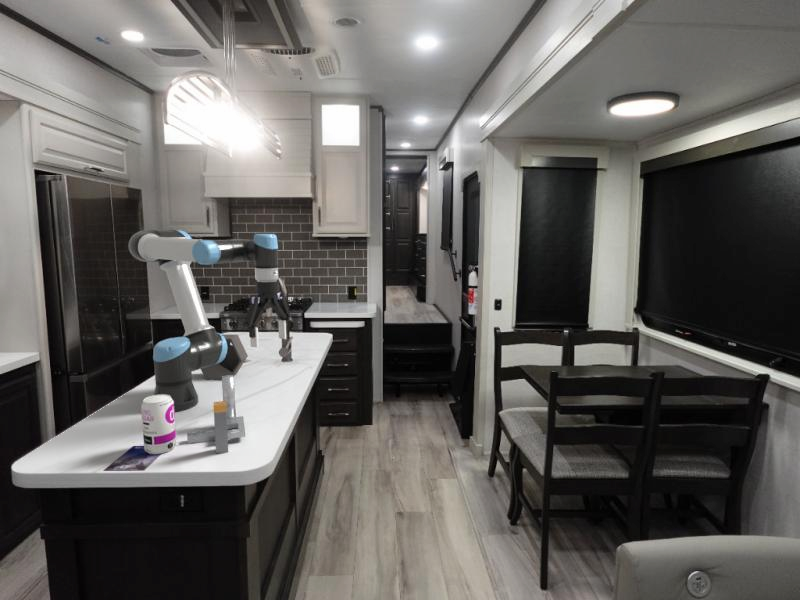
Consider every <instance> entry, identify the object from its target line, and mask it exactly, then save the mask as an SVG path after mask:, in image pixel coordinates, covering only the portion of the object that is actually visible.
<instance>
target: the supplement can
mask: <svg viewBox="0 0 800 600" xmlns="http://www.w3.org/2000/svg"><path fill="white" fill-rule="evenodd" d="M140 409H141V421H142V423H141V425H142V435H143V438H142V439H143V446H144V448H143V449H144V451H145V452H146V453H148V454H149V455H162V454H165V453H168V452H171V451H172V450H173V449H174V448H175V447H176V446H177V433H176V431H177V430H176V420H175V412H174V401H173V400H172V398H171V396H170V395H166V394H160V395H153V394H152V395H149V396H147V397H144V399H143V401H142V403H141V406H140Z"/></svg>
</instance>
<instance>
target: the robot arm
mask: <svg viewBox="0 0 800 600" xmlns="http://www.w3.org/2000/svg"><path fill="white" fill-rule="evenodd" d="M127 247H128V250H129V252H130V254H131V256H132V257H134V259H136V260H138V261H141V262H144V263H145V262H147V263H152V262H153V263H155V262H156V263H158V266H159V268H160V269H161V271H165V273H166V276H167V279H168V281H169V282H168V283H169V285H170V287H171V288H170V289H171V291H172V295H173V298H174V300H175V304H176V306H177V309H178V313H179V316H180V319H181V322H182V325H183V327H184V328H183V329H184V331H185V332H184V334H183V336H177V337H176V336H175V337H169V338H166V339H163V340H160V341H158V342H157V343H156V344H155V345H154V347H153V356H152V359H153V366H154V381H155V386H154V387H155V388H154V392H153V394H152V396H153V395H160V394H166V395H170V396H171V398H172V400H173V401H174V413H176V412H181V411H184V410H185V411H186V410H188V409H191V408H193V407H196V405H198V403H199V394H198V393H197V390H196V388H195V386H194V383H193V378H192V372H195V371H198V370H201V369H202V368H206V367H209V366H213V365H215V364H218V363H220V362H222V361H223V360H224V358H225V356H226V354H227V342H226V339H225V337H224V336H222V333H220V332H217V331H216V328H215V327H214V326H212V325H210V323H209V320H208V317H207V314H206V311H205V308H204V305H203V303H202V302H203V301H202V298H201V297H200V296H201V295H200V293H199V289H198V286H197V284H196V281H195V277H194V275H193V272H192V271H193V270H192V268H191V266H190V265H191V264H192V263H197V264H199V265H206V266H208V265H209V266H210V265H217V264H218V265H219V264H230V263H243V262H245V263H246V262H248V263H249V262H250V263H254V273H255V274H254V279H255V280H256V281H255V284H254V285H255V292H256V293H257V297H256V296H250V299H249V305H248V309H247V312H246V316H245V319H244V321H243V326H244V327H246V328H248V335H249V336H248V337H249V338H250V339H249V340H250V347H251V348H260V347H259V328H258V326H257V325H258V323H259V322H260V320H261V317H262V315H263V313H264V312H265V311H266V310H267V309H270V308H271V309H273V311H274V313H275V314H276V315H277V316H278V318H279V320H277V321H278V339H281V340H287V325H288V324H287V321H289V320H290V318H291V316H292V315H291V312H290V310H289V307H288V304H287V302H286V299H285V293H284V292H279V291H280V285H279V280H278V279H279V254H278V253H279V245H278V237H277V235H276V234H274V233H256V234H254V235H253V239H244V238H243V239H242V238H234V239H233V238H232V239H196V238H192V236H190V235H189V234H188V232H186V231H184V230H180V229H172V228H171V229H144V230H140V231H137V232H136V233H134V234H133V235H132V236H131V237H130V239H129V241H128V246H127Z"/></svg>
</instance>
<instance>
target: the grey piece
mask: <svg viewBox="0 0 800 600" xmlns="http://www.w3.org/2000/svg"><path fill="white" fill-rule="evenodd" d="M221 384H222V387H221V389H222V401H226V415H227V435H228V439H229V440H230V439H236V438H243V437H244V438H245V437H246V429H245V428H246V427H245V420H244V416H243V415H242V416H241V415H240V416H237V415H236V394H235V391H236V388H235V387H236V386H235V376H233V375H226V376H223V377H222V379H221ZM186 438H187V445H189V444H196V443H203V442H211V441H215V428H214V429H206V430H199V431H190V432H187V435H186Z"/></svg>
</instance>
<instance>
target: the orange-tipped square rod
mask: <svg viewBox="0 0 800 600" xmlns="http://www.w3.org/2000/svg"><path fill="white" fill-rule="evenodd" d="M212 404H213V406H212V407H213V417H214V418H213V420H214V429H215V440H214V441H215V454H216V455H217V454H224V453H229V440H228V435H227V430H228V429H227V415H226V401H223V400H222V401H221V400H219V401H214V402H213V403H212Z"/></svg>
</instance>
